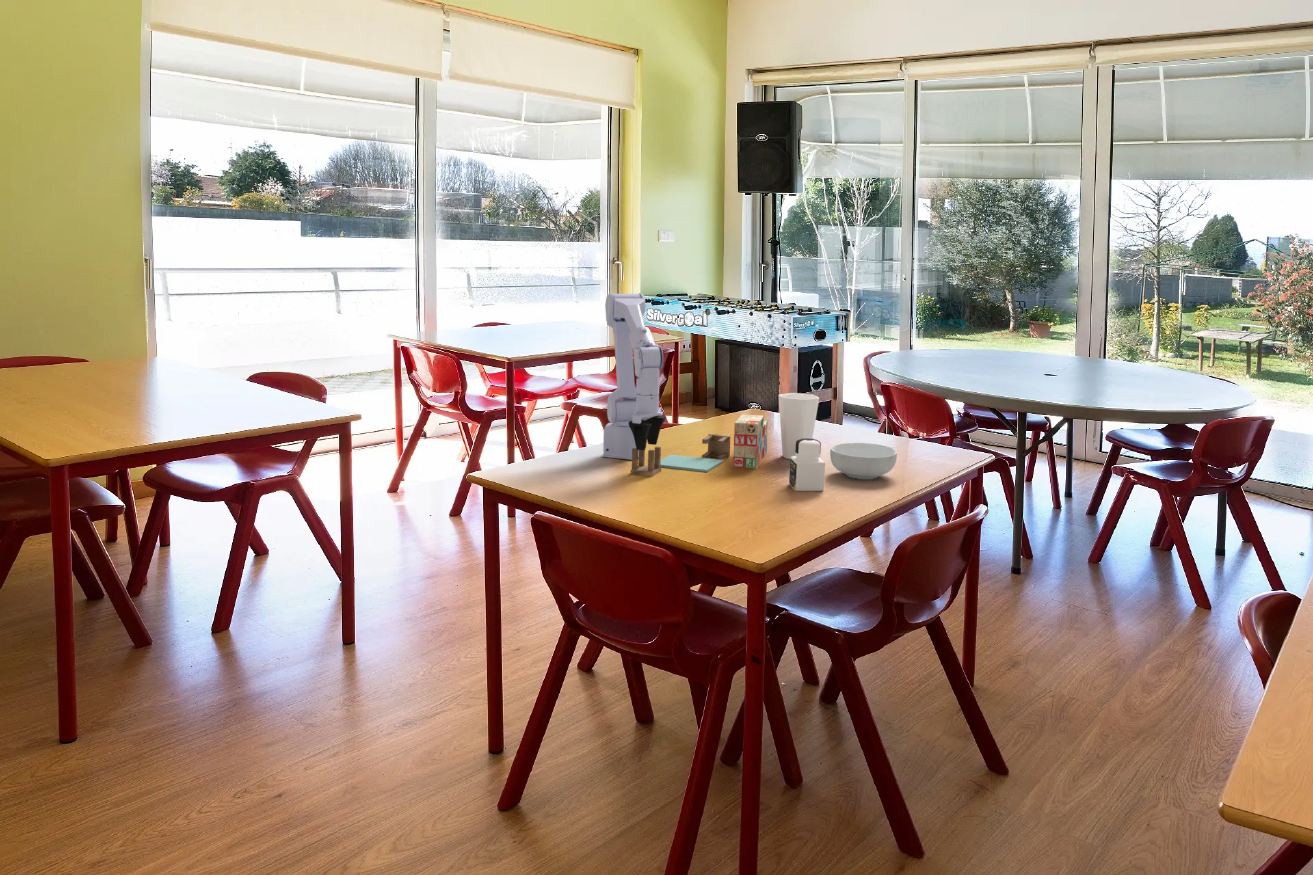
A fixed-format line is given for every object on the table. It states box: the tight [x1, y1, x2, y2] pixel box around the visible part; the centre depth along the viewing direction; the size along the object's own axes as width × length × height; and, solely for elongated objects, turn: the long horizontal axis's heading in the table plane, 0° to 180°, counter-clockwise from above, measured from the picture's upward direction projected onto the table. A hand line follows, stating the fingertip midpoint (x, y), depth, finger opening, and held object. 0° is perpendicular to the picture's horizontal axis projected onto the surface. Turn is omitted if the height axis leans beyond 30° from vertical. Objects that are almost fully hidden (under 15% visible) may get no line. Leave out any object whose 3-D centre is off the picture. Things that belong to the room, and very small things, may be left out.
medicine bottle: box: [788, 438, 826, 492], centre depth 257 cm, size 7×7×12 cm
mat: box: [660, 454, 724, 473], centre depth 280 cm, size 15×13×1 cm
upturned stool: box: [630, 445, 662, 477], centre depth 269 cm, size 6×6×7 cm
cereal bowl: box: [829, 442, 898, 480], centre depth 271 cm, size 17×17×7 cm
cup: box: [778, 392, 820, 460], centre depth 290 cm, size 11×10×17 cm
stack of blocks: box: [732, 414, 768, 470], centre depth 286 cm, size 21×6×12 cm, turn 167°
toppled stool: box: [701, 433, 731, 461], centre depth 288 cm, size 6×6×7 cm
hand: (646, 447), depth 268 cm, fingers open, 7 cm apart
